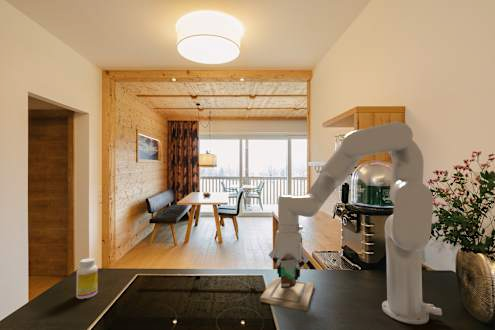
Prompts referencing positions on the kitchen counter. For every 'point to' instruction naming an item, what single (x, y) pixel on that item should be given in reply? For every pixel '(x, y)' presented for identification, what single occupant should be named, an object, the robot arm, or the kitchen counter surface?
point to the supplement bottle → (87, 279)
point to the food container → (288, 273)
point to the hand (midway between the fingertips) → (288, 276)
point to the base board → (288, 294)
